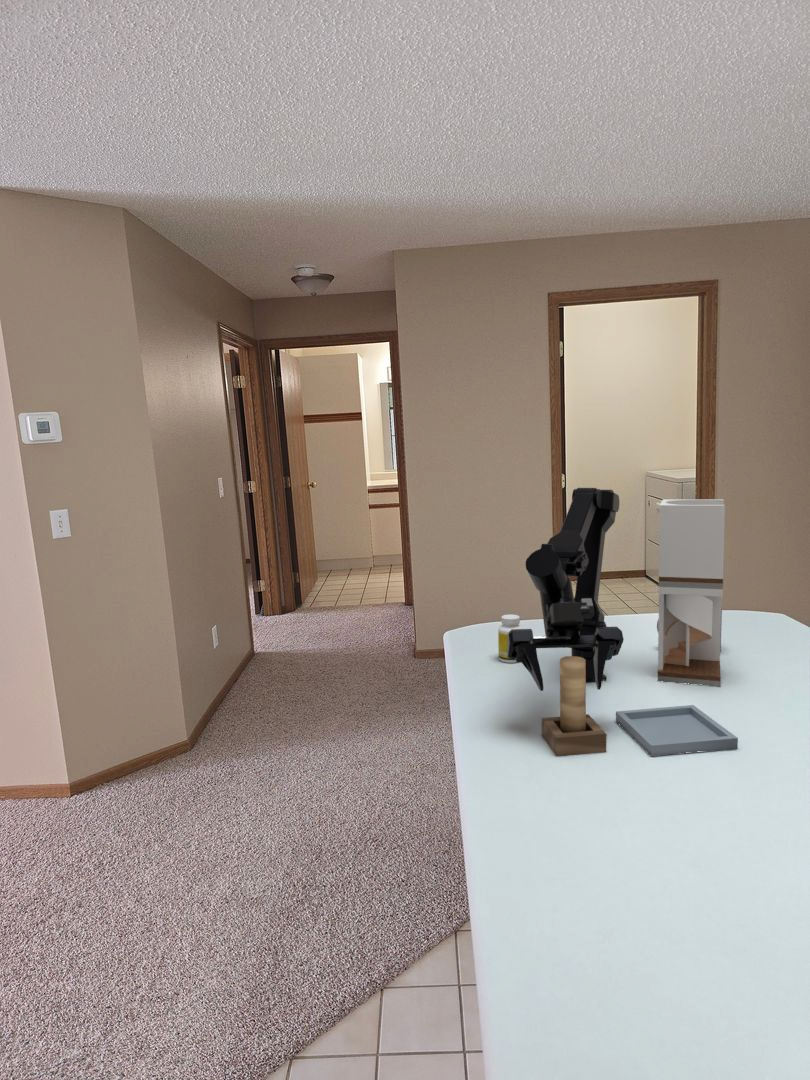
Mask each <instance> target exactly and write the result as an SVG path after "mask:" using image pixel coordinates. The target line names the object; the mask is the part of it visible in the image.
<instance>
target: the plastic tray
mask: <svg viewBox="0 0 810 1080" xmlns="http://www.w3.org/2000/svg"><path fill="white" fill-rule="evenodd" d="M615 722H616V723H617V724H618V725H619V724H620V725H619V726H620V727H621V728H622V727H623V728H624V729H625V730H626V731H627V732H628V733H629V734H630V735H631V736H632V737H633V738H634V739H635V740H636V741H637V742H638V743H639V744H640V745H641V746H642V747H643V748H644V749H645V750H646V751H647V752H648V753H649V754H650V755H651V756H654V757H659V756H658V755H665V756H670V755H669V754H676V755H679V754H678V753H686V752H697V751H710V752H719V751H720V750H721V751H729V750H738V749H739V748H738V743H739V738H738V736H736V735H735V734H734V733H732V732H730V731H729V730H728V729H727V728H725V727H723V726H722V724H720V723H718V722H717V721H716V720H715V719H713V718H711V717H710V716H709V715H707V714H706V713H705V712H704V711H702V710H701V709H699V708H698V707H697V706H695V705H694V704H691V705H677V706H667V707H652V708H641V709H630V710H619V711H617V710H616V711H615ZM623 728H622V729H623ZM624 729H623V730H624ZM625 730H624V731H625ZM626 731H625V732H626ZM627 732H626V733H627ZM628 733H627V734H628ZM629 734H628V735H629ZM630 735H629V736H630ZM631 736H630V737H631ZM632 737H631V738H632ZM633 738H632V739H633ZM634 739H633V740H634ZM635 740H634V741H635ZM636 741H635V742H636ZM637 742H636V743H637ZM638 743H637V744H638ZM639 744H638V745H639ZM640 745H639V746H640ZM641 746H640V747H641ZM642 747H641V748H642ZM643 748H642V749H643ZM644 749H643V750H644ZM645 750H644V751H645ZM646 751H645V752H646ZM647 752H646V753H647ZM648 753H647V754H648ZM649 754H648V755H649ZM650 755H649V756H650ZM651 756H650V757H651Z"/></svg>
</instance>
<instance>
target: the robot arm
mask: <svg viewBox="0 0 810 1080" xmlns="http://www.w3.org/2000/svg"><path fill="white" fill-rule="evenodd" d="M567 510H568V511H567V513H566V516H565V519H564V520H563V524H562V526H561V529H560V531H559V532H558V533H557V534H555V535H554V536H552V537H550V538H549V540H548V542H547V543H541V546H540V549H536V550H535V551H533V552H531V554H529V556H528V557H527V558H526V561H525V569H526V571H527V573H528V575H529V577H530V579H531V581H532V583H533V585H534V588H535V589H536V590H537V591H538V592H539V596H540V603H541V604H540V605H541V612H542V619H543V626H544V633H545V634H544V635H545V636H544V635H543V636H534V635H533V634H534V632H533V629H532V628H523V629H511V631H510V632H509V633H508V640H507V654H508V658H511V659H516V662H517V663H519V664H520V663H521V664H522V665H523V667H524V668H525V669H526V670H527V671H528V672H529V674H530V676H531V677H532V679H533V681H534V683H535V684H536V686H537V688H538V689H539V691H541V692H544V681H543V676H542V672H541V667H540V663H539V658H538V651H537V649H556V648H557V649H561V648H564V649H565V648H568V649H570V650H571V653H570V656H577V657H582V658H584V659H585V660H586V682H592V681H595V686H596V688H597V690H599V691H600V690H601V688H602V682H603V680H604V681H605V680H607V679H608V678H607V676H606V675H605V674H604V671H605V665H606V661H610V660H612V658H613V657H615V656H617V655H619V653H620V650H621V648H622V645H623V643H624V640H625V639H624V634H623V630H621V629H620V628H619V627H618V626H607V624H606V621H605V614H604V612H603V610H602V608H601V605H600V604H599V595H600V594H599V593H600V587H601V586H600V585H601V577H602V576H601V575H602V567H603V566H602V565H603V559H604V557H603V556H604V550H605V549H604V548H605V540H606V534H607V532H608V531H609V530H610V528H611V527H612V526H613V525H614V523H615V521H616V515H617V513H618V512H619V511H620V496H619V494H617V493H616V492H614V490H613V489H600V488H597V487H578V488H574V489H573V490H572V496H571V503H570V505H569V508H568V509H567ZM570 577H576V583H575V594H574V592H573V591H574V590H573V583H572V580H571V579H570Z"/></svg>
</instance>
